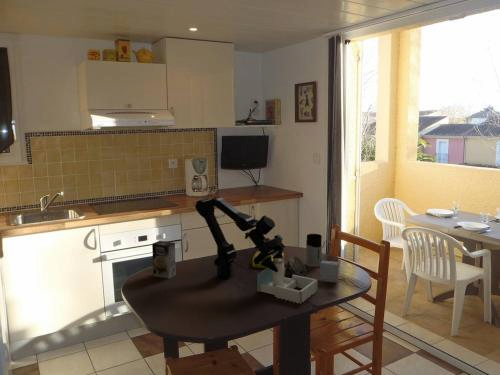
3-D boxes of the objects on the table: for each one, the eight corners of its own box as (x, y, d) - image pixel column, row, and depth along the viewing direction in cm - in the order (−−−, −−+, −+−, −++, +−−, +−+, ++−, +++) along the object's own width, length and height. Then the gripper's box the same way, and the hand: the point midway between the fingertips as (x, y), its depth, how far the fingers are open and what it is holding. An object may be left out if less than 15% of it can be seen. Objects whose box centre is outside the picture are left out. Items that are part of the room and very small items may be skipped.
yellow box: (256, 258, 234) (256, 250, 233) (284, 259, 231) (284, 251, 231) (251, 268, 219) (251, 258, 218) (281, 269, 217) (281, 260, 216)
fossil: (306, 277, 203) (296, 259, 202) (289, 285, 206) (279, 266, 205) (308, 269, 213) (299, 251, 213) (292, 276, 216) (282, 258, 215)
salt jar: (273, 288, 188) (272, 261, 186) (272, 284, 193) (271, 258, 191) (285, 288, 188) (284, 261, 186) (283, 283, 193) (283, 257, 191)
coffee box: (152, 276, 207) (151, 243, 205) (160, 272, 213) (159, 240, 210) (169, 279, 204) (167, 245, 201) (176, 274, 210) (175, 242, 207)
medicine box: (338, 279, 202) (338, 262, 200) (337, 283, 198) (337, 265, 196) (321, 277, 204) (321, 260, 203) (319, 281, 200) (320, 263, 199)
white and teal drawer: (257, 291, 188) (257, 273, 187) (274, 280, 200) (274, 264, 199) (281, 297, 182) (281, 279, 180) (297, 286, 194) (297, 268, 192)
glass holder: (310, 260, 230) (310, 232, 227) (334, 265, 222) (335, 236, 219) (302, 264, 223) (302, 236, 220) (327, 270, 215) (328, 240, 212)
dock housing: (275, 297, 183) (275, 286, 182) (293, 285, 196) (293, 274, 195) (300, 303, 176) (300, 292, 175) (317, 290, 189) (317, 279, 188)
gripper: (259, 235, 181) (282, 265, 177) (281, 225, 196) (303, 253, 192) (243, 250, 187) (265, 279, 182) (266, 239, 202) (287, 267, 198)
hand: (281, 269), depth 188 cm, fingers open, 7 cm apart
